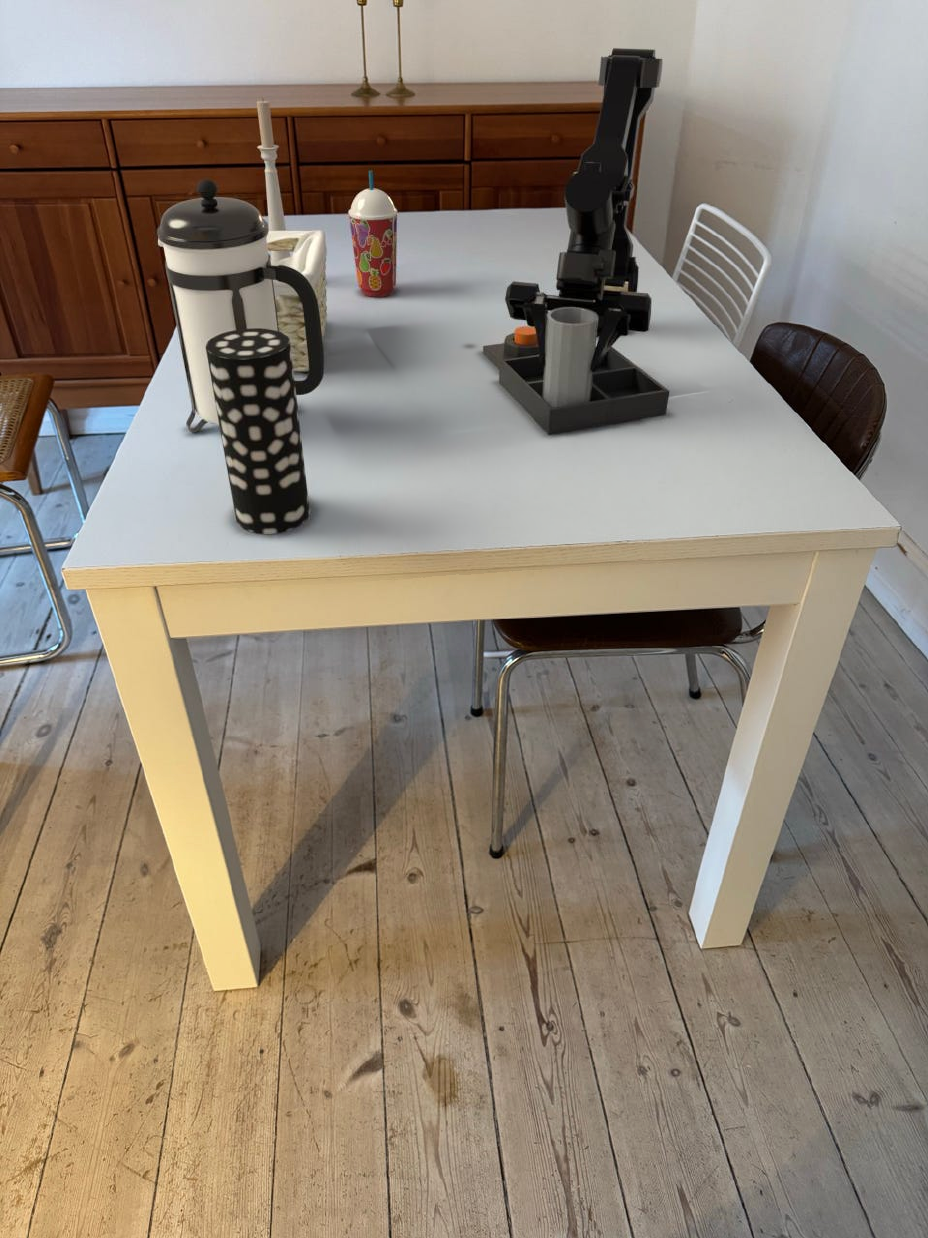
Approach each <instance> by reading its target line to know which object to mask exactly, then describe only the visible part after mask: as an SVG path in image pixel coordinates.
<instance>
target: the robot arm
mask: <svg viewBox="0 0 928 1238" xmlns="http://www.w3.org/2000/svg"><path fill="white" fill-rule="evenodd" d="M662 72H663V58H656V49H647V48H620V47H619V48H618V47H613V48H612V50H611V54H609V55H608V56H601V57H600V65H599V76H598V86H599V87H600V86H601V87H603V95H602V96H603V97H602V101H601V107H600V111H599V116H598V120H597V124H596V130H595V134H594V139H593V142H592V145H590V146H589V147H588V148H586V150H585V151H584V152H583V153H581V155H580V160H579V162H578V163H579V164H578V166H577V167H578V168H577V171H573V172H572V175H571V177H570V178H569V179H568V181H567V182H566V184H565V185H564V189H563V190H564V191H563V194H564V195H563V196H564V203H565V211H566V218H567V224H568V227H569V230H570V234H569V238H568V244H567V247H566V251H562V252H561V251H560V252H559V254H558V263H557V268H556V269H557V270H556V276H555V279H556V284H555V287H556V288H555V289H556V291H558V295H554V294H553V295H552V294H546V293H545V292H541V291H540V286H539V283H535V282H523V281H512V282H511V283H510V284H508V286H507V288H506V292H505V297H504V301H505V304H506V308H507V311H508V314H509V318H511V319H513V320H517V321H525V322H526V324H527V326H530V327H534V328H535V330H536V336H537V344H538V352H539V360H540V366H542V367H543V366H544V359H545V342H546V324H547V314H548V313H549V311H552V310H554V309H557V308H562V307H578V308H584V309H588V310H591V311H593V312H595V313H596V314H597V315H598V327H597V337H598V339H597V342H596V349H595V353H594V356H593V361H592V367H591V371H592V372H595V371H596V369H597V368H598V366H599V364H600V363H601V361H602V360H603V358H604V356H605V355H606V353H607V352H608V350H609V349H610V348H611V347H613V345H615V344H616V342H617V341H618V339H619V338H620V337H626V336H628V335H629V332H638V333H639V332H640V333H646V332H648V331H649V330H650V325H651V324H650V323H651V317H652V297H651V295H649V293H647V292H639V291H638V286H639V265H638V264H637V258H636V256H634V255H633V252H634V243H633V240H632V238H631V235H630V233H629V230H628V228H627V222H628V214H629V205H630V202H631V199H632V198H633V197H634V194H635V184H634V183H633V176H634V168H635V162H636V161H635V160H636V153H637V147H638V145H637V144H638V137H639V129H640V122H641V120H642V118H643V117H644V115H645V114H646V113H647V111H648V109H649V108H650V107H651V105H652V104H653V102H654V98H655V92H656V91H655V90H656V89H657V88H659V87H660V84H661V80H662V79H661V78H662V74H663V73H662Z"/></svg>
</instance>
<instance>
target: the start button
mask: <svg viewBox="0 0 928 1238" xmlns="http://www.w3.org/2000/svg"><path fill="white" fill-rule="evenodd" d="M514 333H515V339H514V341H515V343H518V344H521V345H532V344H537V336H536V330H535V327H531V326H528V325H527V326H526V325H524V326H518V327H516V328H515V329H514Z"/></svg>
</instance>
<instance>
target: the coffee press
mask: <svg viewBox="0 0 928 1238" xmlns="http://www.w3.org/2000/svg"><path fill="white" fill-rule="evenodd" d="M218 189H219V188H218V187H217V185H216V183H215V182H214V181H213V180H211V179H209V178H203V179H200V181H198V183H197V188H196V191H197V193H198V195H199V197H198V198H192V199H188V200H184V201H181V202H177V203H176V204H174V205H172V206H171V207H169V208H168V209H167V210H166V211H165V212H164V213H163V214H162V216H161V219H160V224H159V226H158V227H157V229H156V233H157V238H158V239H157V244H158V246H159V247H162V248H163V251H164V256H165V261H164V267H165V273H166V277H167V281H168V287H169V293H170V298H171V303H172V304H171V305H172V309H173V314H174V319H175V324H176V325H175V326H176V328H177V329H176V330H177V335H178V339H179V346H180V350H181V355H182V360H183V366H184V371H185V377H186V381H187V387H188V392H189V398H190V404H191V411H190V414H189V416H188V418H187V420H186V423H185V425H186V427H187V429H188V431H189V432H190V433H192V434H197V433H199V432H200V431H201V430H202V429H203V427H204V426H205V425H206V424H211V425H215V426H218V427H220V426H219V420H218V415H217V409H216V403H215V398H214V392H213V386H212V381H211V375H210V369H209V364H208V358H207V353H206V344H207V342H208V341H209V340H210V339H211V338H213V337H215V336H217V335H219V334H222V333H225V332H228V331H233V330H239V329H249V328H261V329H270V330H275V331H279V327H278V319H277V311H276V303H275V295H274V287H273V280H278V282H283V283H286V284H288V285H290V286H291V287H292V288H293V289H294V290H295V291H296V293H297V294H298V296H299V298H300V300H301V303H302V307H303V314H304V323H305V332H306V342H307V351H308V361H309V371H308V374H307V377H306V378H305V379H302V380H295V379H294V381H295V389H296V396H303V395H307V394H310V393H312V392H313V391H315V390H316V389H317V388H318V387H319V386H320V384H321V382H322V380H323V378H324V374H325V354H324V353H325V352H324V340H323V341H322V331H321V321H320V313H319V306H318V302H317V298H316V295H315V292H314V290H313V288H312V286H311V284H310V283H309V281H308V280H307V279H306V278H305V277H304V276H303V275H302V274H301V273H300V272H298V271H297V270H295V269H293V268H290V267H288V266H284V265H278V266H272V265H271V263H272V260H271V253H269V251H268V247H267V235H268V232H269V222H268V221H266V219H264V218H263V215H262V214H261V211H260V210H259V209H258V208H257V207H256V206H254V205H253V204H251V203H250V202H247V201H244V200H242V199H237V198H233V197H226V196H225V197H223V196H217V193H218ZM196 414H197V415H198V417H200V419H201V420H200V421H199V422H198V423H197V425H195V427H191V425H192V423H193V422H194V419H195V417H196Z"/></svg>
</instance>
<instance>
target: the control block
mask: <svg viewBox="0 0 928 1238" xmlns="http://www.w3.org/2000/svg"><path fill="white" fill-rule="evenodd" d="M514 339H515V332H512V333H510V334H508V335H506V336H505V338H504V341H503V342H502V343H495V344H488V345H483V346H482V354H483V355H484V357H486V359H488V360H489V361H490V363H491V364H492V365H494V366H495V368H497V369H498V370H499V361H500V360H505V359H512V358H519V357H526V356H533V355H539V352H538V344H532V345H521V344H518V343H515V341H514Z"/></svg>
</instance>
